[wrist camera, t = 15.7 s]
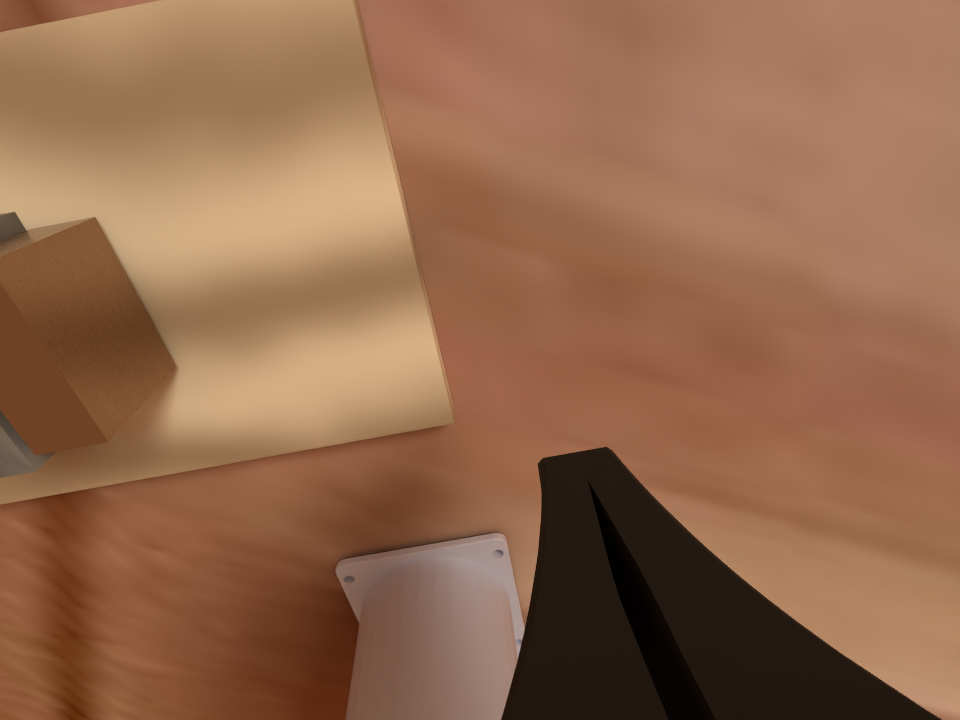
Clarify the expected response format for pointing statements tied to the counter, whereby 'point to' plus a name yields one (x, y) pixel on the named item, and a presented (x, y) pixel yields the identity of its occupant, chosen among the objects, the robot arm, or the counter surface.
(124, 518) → the counter surface
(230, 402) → the clamp jig
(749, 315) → the counter surface
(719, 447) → the counter surface
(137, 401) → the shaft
